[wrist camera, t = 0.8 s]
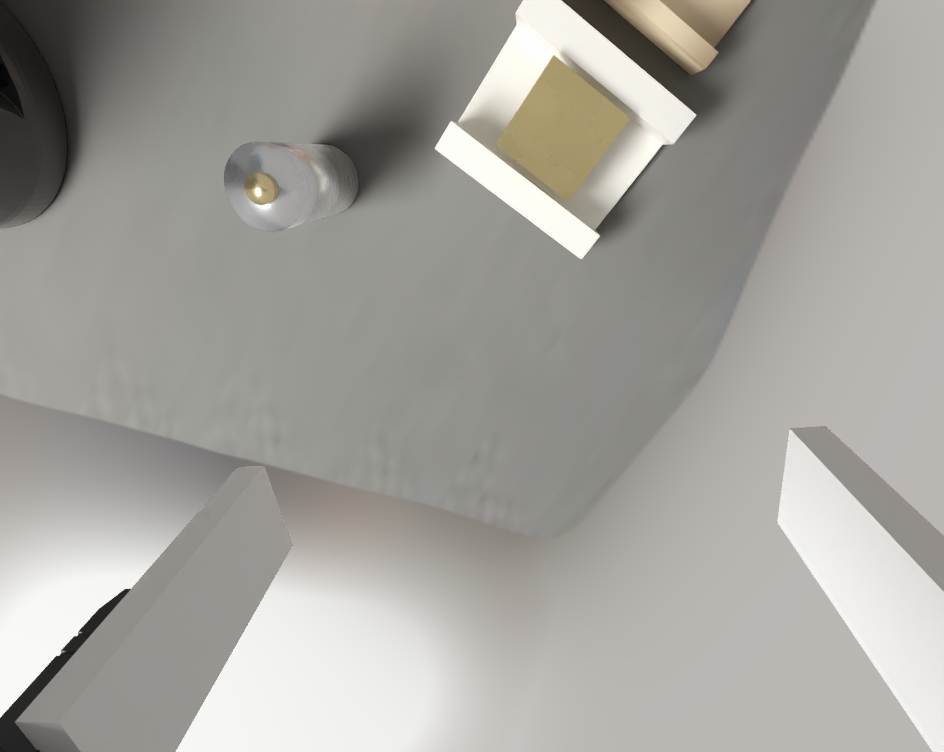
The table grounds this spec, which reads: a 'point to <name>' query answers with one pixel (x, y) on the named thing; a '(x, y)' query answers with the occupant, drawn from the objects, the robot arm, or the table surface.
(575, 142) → the tan flat square block
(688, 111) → the cradle
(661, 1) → the trough
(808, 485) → the robot arm
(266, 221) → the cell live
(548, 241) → the table surface
